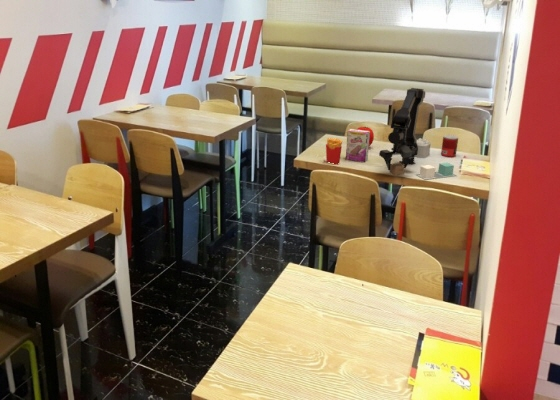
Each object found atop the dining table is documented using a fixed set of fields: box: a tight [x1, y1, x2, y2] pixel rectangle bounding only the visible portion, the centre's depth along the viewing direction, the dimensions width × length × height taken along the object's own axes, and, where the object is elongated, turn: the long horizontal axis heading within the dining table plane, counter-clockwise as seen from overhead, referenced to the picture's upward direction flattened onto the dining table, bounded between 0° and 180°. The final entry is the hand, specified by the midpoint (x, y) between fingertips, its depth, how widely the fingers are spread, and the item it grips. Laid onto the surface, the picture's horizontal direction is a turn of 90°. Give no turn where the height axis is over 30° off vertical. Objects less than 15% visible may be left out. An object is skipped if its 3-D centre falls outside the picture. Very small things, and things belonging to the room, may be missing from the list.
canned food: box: [440, 134, 459, 158], centre depth 298 cm, size 8×8×11 cm
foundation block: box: [419, 164, 436, 179], centre depth 263 cm, size 5×5×5 cm
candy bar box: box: [345, 128, 370, 163], centre depth 287 cm, size 11×5×16 cm, turn 65°
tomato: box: [356, 126, 375, 147], centre depth 310 cm, size 11×11×13 cm
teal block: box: [437, 162, 455, 176], centre depth 267 cm, size 5×5×5 cm
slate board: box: [415, 171, 457, 181], centre depth 266 cm, size 9×19×1 cm, turn 111°
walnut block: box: [389, 162, 405, 176], centre depth 269 cm, size 5×5×5 cm
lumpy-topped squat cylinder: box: [414, 137, 432, 159], centre depth 300 cm, size 10×13×9 cm
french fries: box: [325, 137, 343, 165], centre depth 283 cm, size 9×4×13 cm, turn 51°
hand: (396, 169), depth 269 cm, fingers open, 9 cm apart
